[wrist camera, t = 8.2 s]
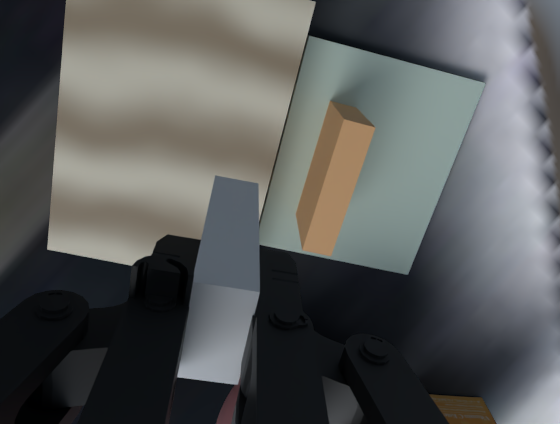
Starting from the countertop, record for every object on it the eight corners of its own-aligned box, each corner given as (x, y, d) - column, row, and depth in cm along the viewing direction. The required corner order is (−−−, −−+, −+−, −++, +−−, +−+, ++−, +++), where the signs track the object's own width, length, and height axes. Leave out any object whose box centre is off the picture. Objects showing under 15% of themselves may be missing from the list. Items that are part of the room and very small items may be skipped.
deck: (93, -58, 30) (71, -67, 26) (309, 2, 32) (315, 2, 28) (67, 225, 38) (47, 249, 34) (243, 260, 40) (242, 286, 36)
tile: (344, 119, 29) (375, 127, 29) (329, 100, 34) (356, 107, 34) (302, 250, 32) (331, 256, 32) (295, 214, 37) (320, 219, 38)
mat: (308, 35, 33) (308, 35, 32) (482, 82, 35) (485, 83, 34) (255, 240, 39) (255, 243, 38) (405, 271, 41) (407, 274, 40)
